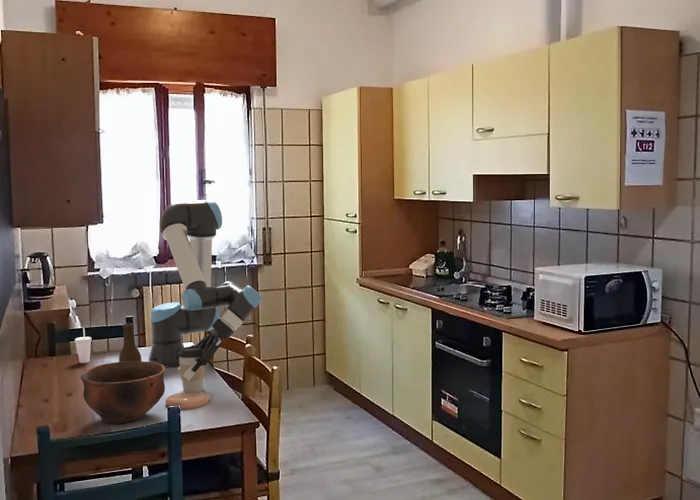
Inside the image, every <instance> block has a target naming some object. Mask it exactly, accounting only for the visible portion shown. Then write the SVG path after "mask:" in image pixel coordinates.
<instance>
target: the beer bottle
mask: <svg viewBox="0 0 700 500" xmlns="http://www.w3.org/2000/svg"><path fill="white" fill-rule="evenodd" d="M134 326H135V325H134V323H132V322H126V323H123V324H122V329H123V344H122V348H121V350H120V352H119V355H118V362H124V361H143V360H142V355H141V353H140V351H139V348H138V347H137V346H136V341H135V333H134Z"/></svg>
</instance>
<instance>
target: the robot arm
mask: <svg viewBox="0 0 700 500" xmlns="http://www.w3.org/2000/svg"><path fill="white" fill-rule="evenodd" d="M221 211H222V210H221V208H220V206H219V204H218V203H217V202H216V201H214V200H211V199H210V200H208V199H207V200H206V199H201V200H200V199H199V200H198V199H197V200H186V201H185V200H183V201H181V200H179V201H178V200H177V201H175V202H172V203H170V204H169V205H168V206H167V207H166V208H165V209H164V211H163V212H162V214H161V215H160V220H159V230H160V233H161V236H162V238H163V240H165V241H166V242H167V244H168V247H169V249H170V252H171V255H172V258H173V260H174V263H175V266H176V269H177V271H178V274H179V276H180V279H181V281H182V285H183V286H184V290H183V291H182V293H181V301H182V304H183V305H181V303H180V302H177V301H175V302H174V301H173V302H166V303H161V304H159V305H157V306H154V307H152V309H151V310H150V327H151V328H150V329H151V343H152V345H151V349H150V352H149V356H148V362H155V363H158V364H161V365H164V367H165V368H174V367H177V370H178V371H180V364H179V362H180V361H179V356H178V355H179V352H180V351H181V349H182V348H185V345H184V343H183V335H189V334H197V333H204V332H205V333H206V332H207V333H206V334H205V335H204V337H202V339H201V340H199V342H197V344H196V345H197V346H199V347H201V348H202V350H204V351H203V352H202V354H201V355H200V357H199V358H198V359H195V362H194V363H193V364H192V365H191V366H190V368H189V369H188V370H187V371H186V372H185V373H184V375H183V377H185V378H186V379H187V380H188V381H189V380H190V379H191V378H192V377H193V376H194V375H195V373H196V372H197V371H198V370H199V369H200V368H201V366H203V365H204V366H207V364H208V363H209V361H210V360H211V359H212V357H213V356H214V355H215V353H216V352H217V351H218V350H219V348H220V347H221V346H222V345H223V343H224V342H223V341H222V340H223V338H224V339H225V340H229V339H230V338H231V336H232V335H233V334H234V332H235V331H237V330H238V328H239V327H242V325H243V322H245V321H246V319H248V317H249V316H250V314H251V313H252V312H253V311H254V310H255V309H256V308H257V307H258V305H259V304H260V303H261V302H262V300H263V297H262V295H261V293H259V292H258V291H257V290H256V289H254V288H253V287H252V286H250V285H246V286H245V287H243V288H242V287H241V286H240V285H239V284H237V283H235V282H233V281H230V280H227V281H224V282H223V283H221V284H220V285H217V286H211V285H212V257H213V256H212V255H213V254H212V252H213V251H212V250H213V249H212V248H213V247H212V245H213V238H215V237H216V236H217V231H218V230H220V229H221V227H222V225H223V216H222V212H221ZM221 307H226V308H225V309H224V310H223V311H222V313H221V314H220V310H219V309H220V308H221ZM212 330H213V331H212ZM178 366H179V367H178Z"/></svg>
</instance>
